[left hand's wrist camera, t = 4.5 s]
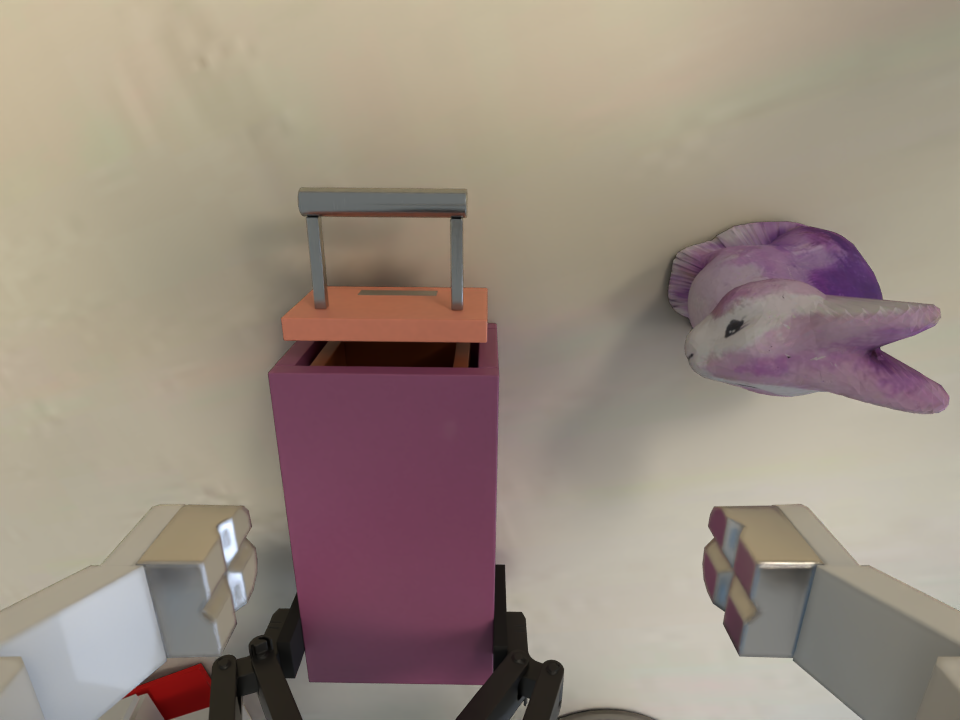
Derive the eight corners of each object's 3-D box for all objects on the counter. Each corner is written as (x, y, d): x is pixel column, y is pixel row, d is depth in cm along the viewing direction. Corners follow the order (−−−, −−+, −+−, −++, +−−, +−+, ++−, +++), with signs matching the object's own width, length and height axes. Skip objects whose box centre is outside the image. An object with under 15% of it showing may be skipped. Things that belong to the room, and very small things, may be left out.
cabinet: (314, 320, 36) (267, 372, 29) (496, 322, 36) (499, 375, 29) (340, 584, 44) (308, 682, 36) (491, 586, 44) (492, 685, 36)
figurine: (623, 288, 35) (713, 391, 21) (772, 169, 33) (984, 198, 19) (712, 395, 38) (843, 551, 24) (856, 293, 35) (1099, 400, 21)
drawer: (305, 179, 32) (265, 190, 27) (488, 181, 32) (488, 192, 26) (341, 552, 42) (317, 621, 36) (484, 554, 42) (483, 624, 36)
